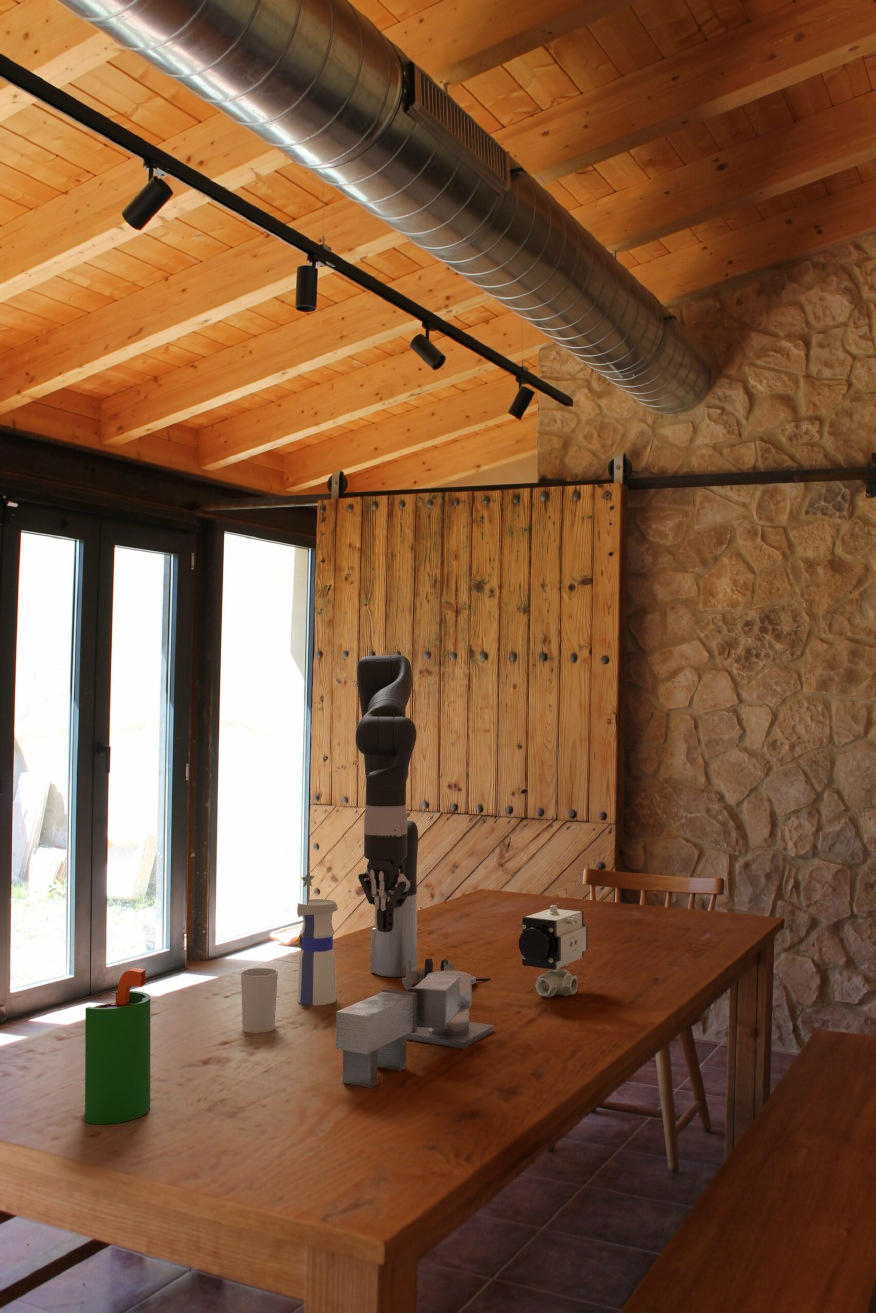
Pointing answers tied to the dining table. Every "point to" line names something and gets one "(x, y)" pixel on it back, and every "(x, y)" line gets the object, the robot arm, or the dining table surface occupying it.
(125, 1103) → the green container with spout
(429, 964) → the bike brake
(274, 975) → the white cup
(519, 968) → the dining table surface
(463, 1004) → the elbow
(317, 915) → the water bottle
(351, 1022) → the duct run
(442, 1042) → the duct stub
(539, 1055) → the dining table surface
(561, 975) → the ball valve
